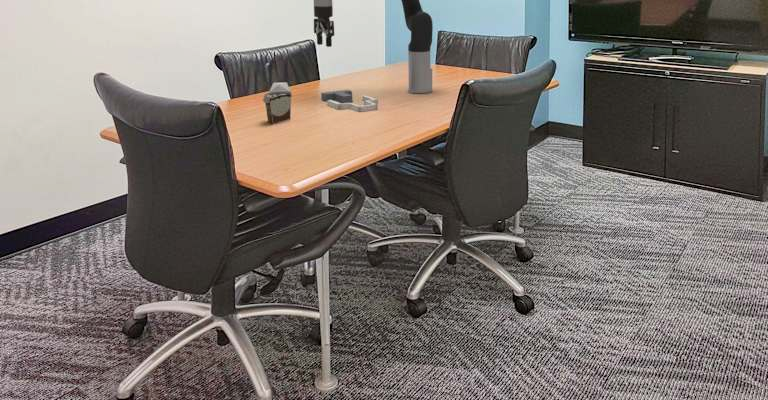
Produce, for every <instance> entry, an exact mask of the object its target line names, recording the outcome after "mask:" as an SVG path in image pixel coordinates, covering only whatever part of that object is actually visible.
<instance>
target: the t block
mask: <svg viewBox="0 0 768 400" xmlns="http://www.w3.org/2000/svg"><path fill="white" fill-rule="evenodd" d="M320 95H321V98H320V99H321V101H323V102H327V100H333V101H335V102H338V103H340V104H343V103H353V90H350V89H344V90H343V89H342V90H333V91H326V92H325V91H324V92H321V93H320Z"/></svg>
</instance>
